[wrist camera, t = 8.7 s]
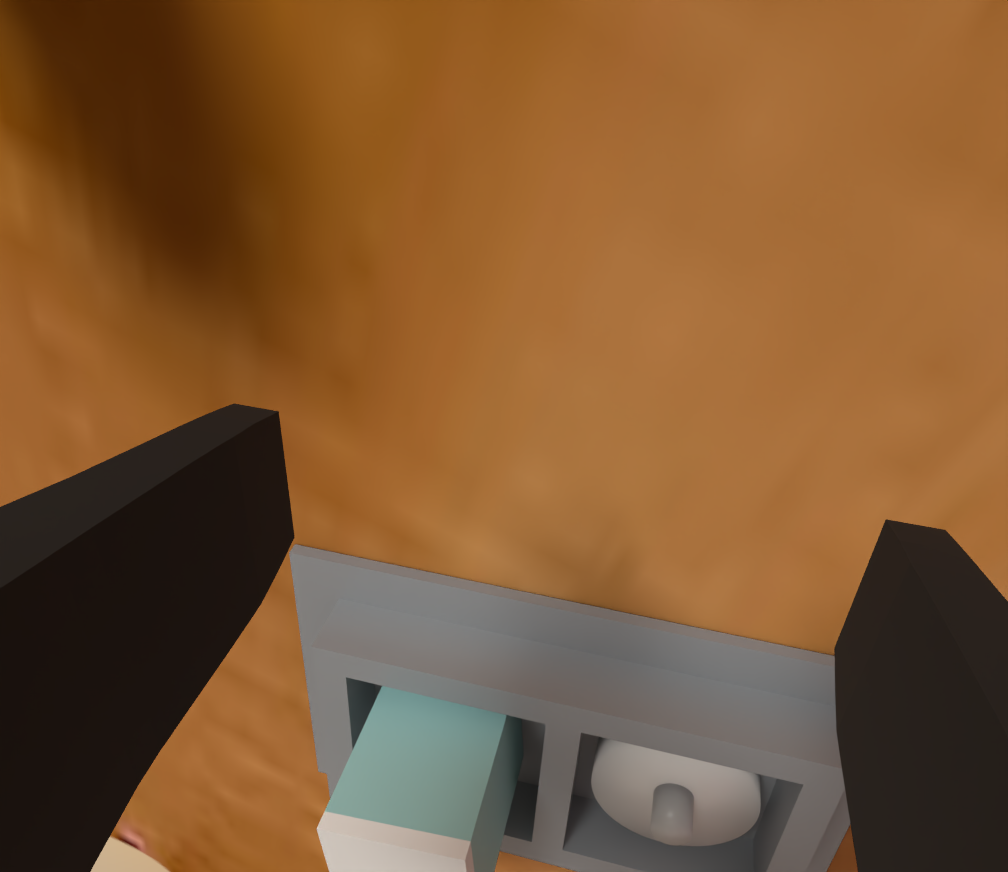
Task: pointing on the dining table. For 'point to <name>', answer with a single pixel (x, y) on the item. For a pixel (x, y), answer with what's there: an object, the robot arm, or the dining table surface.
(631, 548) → the dining table surface
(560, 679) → the housing
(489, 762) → the teal and white block
